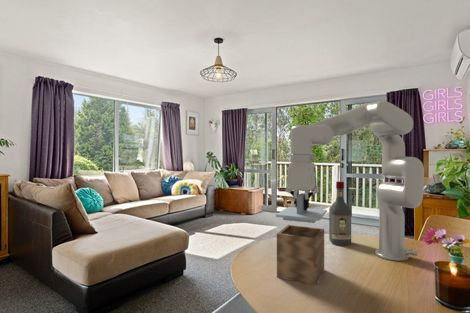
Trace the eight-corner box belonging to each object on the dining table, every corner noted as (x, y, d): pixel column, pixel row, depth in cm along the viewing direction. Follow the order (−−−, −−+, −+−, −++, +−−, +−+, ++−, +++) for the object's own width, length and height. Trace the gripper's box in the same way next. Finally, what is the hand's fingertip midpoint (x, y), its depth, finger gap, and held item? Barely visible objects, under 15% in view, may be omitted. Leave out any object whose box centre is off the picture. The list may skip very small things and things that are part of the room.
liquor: (328, 239, 145) (328, 180, 145) (346, 240, 144) (346, 180, 144) (332, 245, 136) (332, 182, 136) (352, 245, 135) (352, 182, 135)
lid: (326, 215, 108) (326, 192, 108) (319, 225, 94) (318, 199, 94) (288, 212, 115) (287, 190, 114) (275, 220, 101) (275, 196, 101)
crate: (324, 269, 108) (324, 229, 107) (316, 285, 95) (316, 239, 95) (288, 263, 114) (288, 224, 114) (276, 276, 102) (276, 233, 101)
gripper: (325, 158, 104) (326, 209, 104) (283, 159, 111) (284, 206, 111) (321, 159, 97) (322, 213, 98) (277, 159, 104) (278, 209, 105)
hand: (302, 209), depth 105 cm, fingers closed on lid
